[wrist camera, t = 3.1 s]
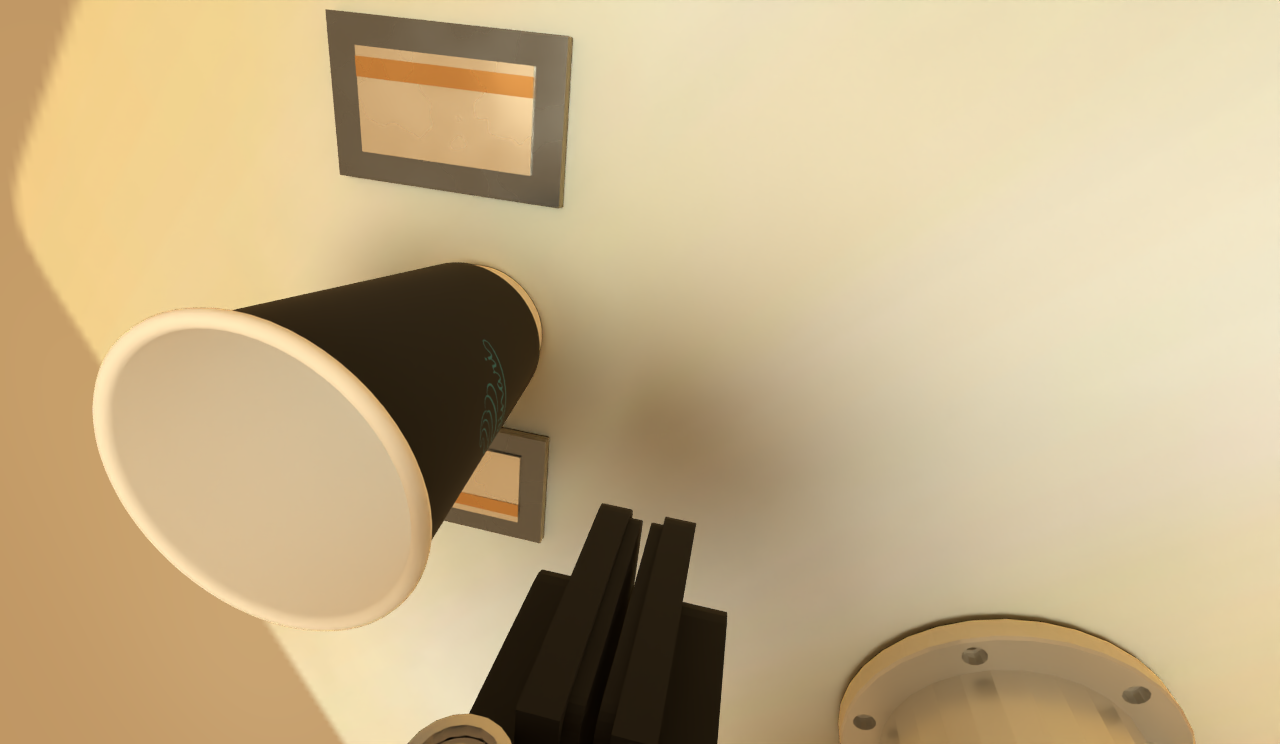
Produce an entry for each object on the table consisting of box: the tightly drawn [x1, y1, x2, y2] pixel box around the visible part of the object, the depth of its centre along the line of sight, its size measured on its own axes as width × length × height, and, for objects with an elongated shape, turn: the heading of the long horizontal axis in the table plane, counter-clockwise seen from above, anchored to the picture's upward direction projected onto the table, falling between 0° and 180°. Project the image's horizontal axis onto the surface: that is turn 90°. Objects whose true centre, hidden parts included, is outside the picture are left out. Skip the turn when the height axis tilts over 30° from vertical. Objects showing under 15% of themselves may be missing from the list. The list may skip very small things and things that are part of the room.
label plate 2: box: [444, 427, 549, 543], centre depth 25 cm, size 8×5×1 cm, turn 83°
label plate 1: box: [325, 9, 573, 208], centre depth 20 cm, size 8×5×1 cm, turn 83°
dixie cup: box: [93, 263, 542, 631], centre depth 18 cm, size 8×8×11 cm
